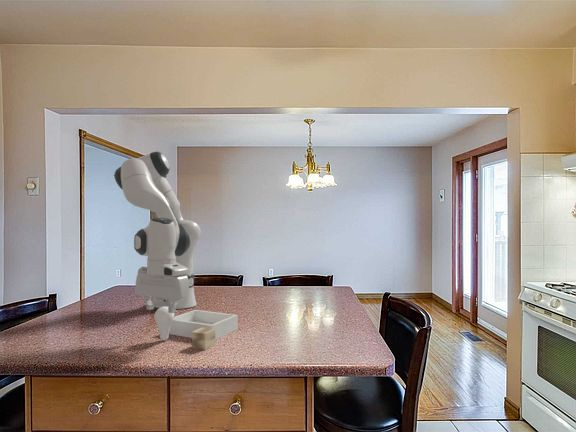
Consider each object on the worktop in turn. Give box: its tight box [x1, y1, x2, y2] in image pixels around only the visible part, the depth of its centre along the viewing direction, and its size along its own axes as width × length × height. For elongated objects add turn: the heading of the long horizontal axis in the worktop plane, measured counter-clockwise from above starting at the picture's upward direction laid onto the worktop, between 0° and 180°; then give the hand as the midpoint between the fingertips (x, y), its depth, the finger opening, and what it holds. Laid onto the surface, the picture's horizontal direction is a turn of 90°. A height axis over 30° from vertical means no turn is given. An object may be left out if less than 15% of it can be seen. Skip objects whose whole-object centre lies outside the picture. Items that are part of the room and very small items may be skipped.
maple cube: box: [191, 328, 216, 351], centre depth 117 cm, size 5×5×5 cm
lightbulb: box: [153, 306, 175, 342], centre depth 122 cm, size 6×6×11 cm
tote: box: [169, 309, 239, 341], centre depth 132 cm, size 19×15×5 cm
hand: (160, 311), depth 122 cm, fingers open, 8 cm apart
